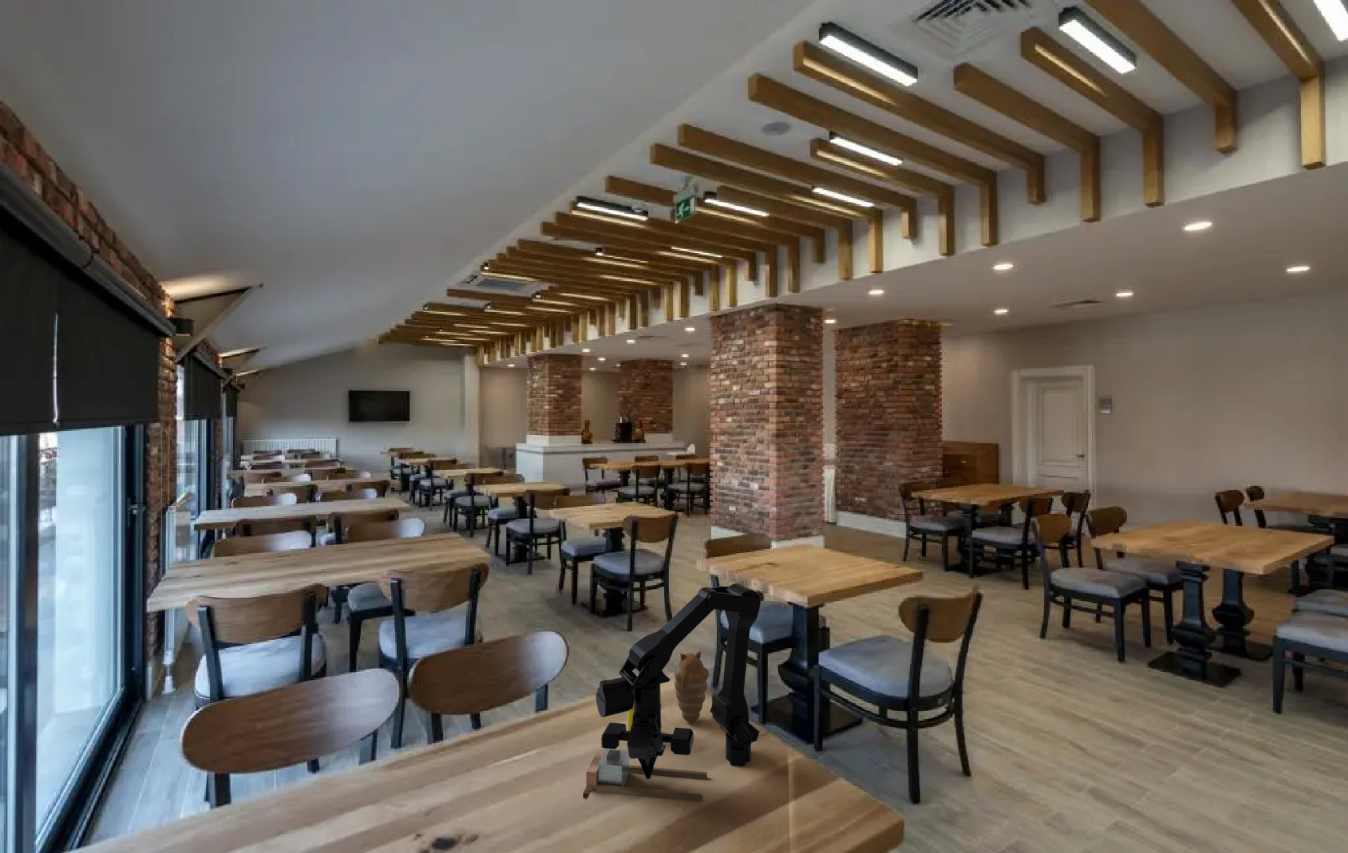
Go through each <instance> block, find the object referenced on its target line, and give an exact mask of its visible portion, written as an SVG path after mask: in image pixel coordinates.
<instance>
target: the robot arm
mask: <svg viewBox="0 0 1348 853" xmlns="http://www.w3.org/2000/svg"><path fill="white" fill-rule="evenodd" d="M761 605H762V599H761V596H760V595H759V593H758V592H757V591H756V590H754V589H751V588H750V587H747V586H745V585H743V584H742V583H737V582H736V583H732V584H731V585H726V586H724V585H717V586H714V587H712V586H711V587H709V586H705V587H701V588H700V589H699V590H698V591H697V594H696V595H695V596H693V598H692V599H691V600H689V602H688V603H686V604H685V605H684V606H683V607H682V608H681V609H680V610H679V611H678V612H677V613H676V614H675V615H674V616H673V617H671V619H669V620H668V622H666V623H665V624H664V625H663V626H662V627H661V628H660V629H659V630H656V631H655V632H653V633H650V634H647V635H645V636H644V637H642V638H641V639H639V640H638V641H636V642H635V643H633V645H632V646H631V647H630V649H629V652H628V653H629V654H628V657H627V658H626V660H625V662H624V663H623V665H622V667H621V669H620V670H619V672H618V673H619V675H620V676H621V677H616V678H613V679H605V680H604V679H603V680H599V687H598V686H597V687H598V688H597V690H596V693H595V699H596V707H597V711H598V713H599V715H600V717H601V718H607V717H611V716H614V715H618V714H622V713H627V711H629V710H630V709H634V714H633V719H632V726H631V729H630V731H627V724H626V723H625V722H624V723H622V722H621V723H620V722H609V723H608V724H607V725H606V727H605V729H604V731H603V732H602V734H601V737H600V738H601V739H600V740H601V748H602V749H605V750H606V749H618V747H619V746H620V741H621V742H622V741H624V742H627V743H626V747H627V750H628V754H629V758H630V760H631V759H632V760H635V759H637V760H638V762H639V764H640V766H641V767H642V769H643V772H644V777H645V779H647V780H651V778H652V775H653V774H652V771H653V768H654V767H655V764H656V761H657V758H658V757H662V756H663V755H664V753H665V750H666V747H667V746H668V745H669V746H670V751H671V753H673V754H674V755H679V756H688V755H691V752H692V750H693V744H694V741H695V734H694V731H693V729H692V728H689V727H677V726H676V727H674V729H673V733H667V732H666V731H662V703H661V702H662V700H661V696H662V695H661V684H665V683H669V682H670V681H671V679H670V677H669V676H668V675H667V674H666V673H665V672H664V671H663V670H664V669H665V668H666V666H667V665H668V664H669V662H670V660H671V657H672V655H673V652H674V650H675V649H676V648H677V646H679V645H680V643H681V642H682V641H684V640H685V639H686V638H687V637H688V635H690V634H691V633H692V632H693V630H695V629H696V628H697V627H698V626H699V625H700V624H701V623H702V622H703V621H704V620H705V619H706V618H707V617H708V616H709V615H710V614H712V612H713V611H714V610H716V611H717V610H719V611H720V610H721V611H724V613H725V618H726V620H727V622H728V624H727V625H728V628H727V636H726V638H727V640H726V648H725V649H726V650H725V658H724V659H725V660H724V667H723V668H724V670H723V678H722V679H723V680H722V687H721V689H720V691H719V692H718V693H717V694H712V696H711V708H710V710H709V712H710V713H711V714H712V720H713V721H714V722H715V723H716V724H717V725H718V726H719V728H720V729H721V730H722V731H724V732H725V759H726V760H727V761H728V762H729V764H730V766H731V767H738V768H739V767H742V768H743V767H744V766H746V764H747V763H749V762H750V761H751V759H752V744H753V743H755V742H757V741H758V738H759V735H760V731H759V729H757V728H756V727H755V726H753V725H752V724H751V723H750V712H749V710H750V709H749V706H748V703H747V698H746V695H745V686H746V676H747V666H748V664H747V663H748V655H749V644H750V634H751V628H752V626H754V624H755V622H756V621H757V619H758V617H759V613H760V608H761ZM634 670H636V672H637V673H639V674H638V676H637V675H636V674H635V673H636V672H634Z"/></svg>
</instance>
